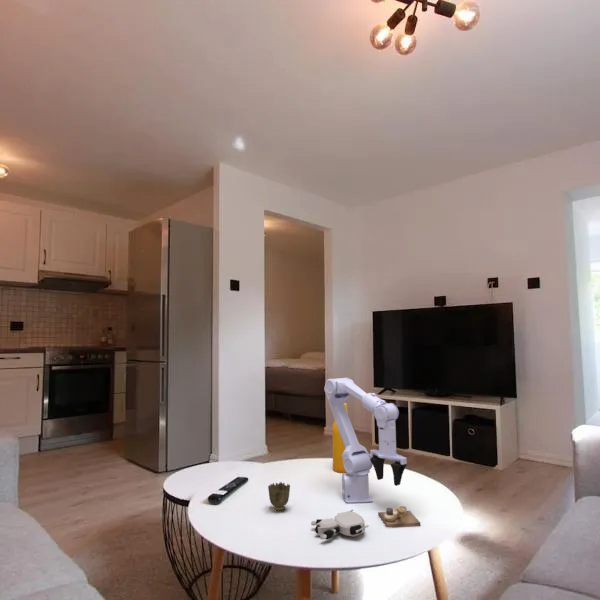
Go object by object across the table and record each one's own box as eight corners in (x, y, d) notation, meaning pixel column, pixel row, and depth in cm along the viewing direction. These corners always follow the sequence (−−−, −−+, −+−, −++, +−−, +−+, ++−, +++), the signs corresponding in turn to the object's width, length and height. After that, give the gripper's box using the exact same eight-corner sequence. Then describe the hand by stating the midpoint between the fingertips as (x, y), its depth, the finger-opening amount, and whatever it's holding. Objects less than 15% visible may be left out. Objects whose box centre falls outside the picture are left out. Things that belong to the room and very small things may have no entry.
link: (391, 522, 130) (391, 517, 130) (382, 519, 132) (382, 514, 132) (409, 513, 137) (409, 507, 137) (400, 510, 139) (400, 505, 139)
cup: (294, 509, 144) (294, 485, 145) (279, 516, 139) (279, 490, 139) (279, 504, 149) (279, 480, 150) (263, 510, 144) (263, 485, 144)
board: (386, 527, 129) (386, 512, 129) (378, 515, 138) (377, 501, 139) (420, 526, 130) (419, 511, 130) (409, 513, 139) (409, 499, 140)
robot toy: (322, 550, 118) (372, 538, 122) (320, 533, 118) (370, 522, 122) (309, 531, 129) (355, 521, 133) (308, 516, 130) (354, 506, 134)
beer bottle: (339, 466, 194) (338, 401, 197) (357, 469, 189) (355, 403, 192) (328, 471, 187) (327, 404, 190) (347, 474, 182) (346, 405, 185)
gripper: (363, 438, 147) (364, 478, 146) (395, 446, 136) (397, 490, 134) (377, 435, 152) (379, 474, 150) (410, 442, 140) (411, 485, 139)
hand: (388, 481), depth 143 cm, fingers open, 7 cm apart
